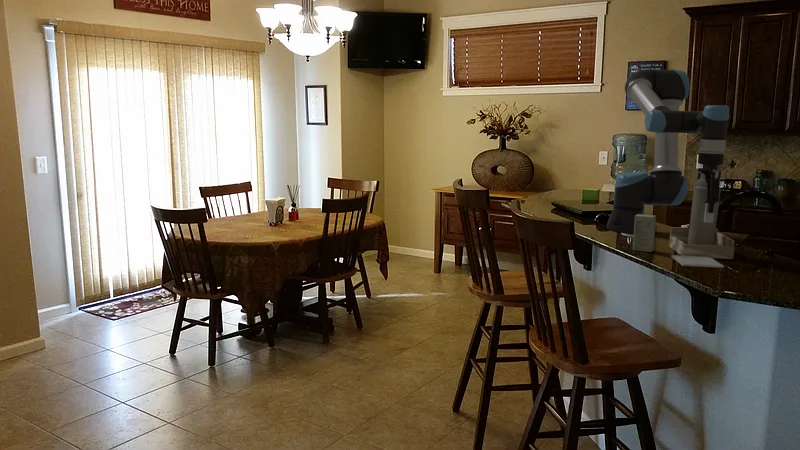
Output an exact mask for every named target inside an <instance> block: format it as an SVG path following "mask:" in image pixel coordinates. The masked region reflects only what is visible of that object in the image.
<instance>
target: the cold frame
mask: <svg viewBox="0 0 800 450" xmlns="http://www.w3.org/2000/svg"><path fill="white" fill-rule="evenodd" d="M689 230H690V227H683V226H681V227H679V226H677V227H676V226H670V233H669V242H668V248H669V247H670V248H671V249H672V250H673V251H674V252H676V253H678V254H679V255H683V256H703V257H711V258H712V259H726V260H733V259H734V255H735V249H736V248H735V240H734V239H733V238H731V237H728V236H726V235H725V234H722V233H720V232H719V229H718V228H716V231H715V239H714V246H711V245H690V244H688V237H689Z"/></svg>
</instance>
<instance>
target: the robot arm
mask: <svg viewBox="0 0 800 450" xmlns="http://www.w3.org/2000/svg"><path fill="white" fill-rule="evenodd" d="M690 88H691V87H690V79H689V76H688V74H687V73H686V71H684V70H681V69H673V68H672V69H650V68H647V69H646V68H645V69H641V70H638V71H635V72H634V73H633V74H631V75H630V76H629V77H628V79H627V80H626V82H625V85H624V92H625V95H626V97H627V98H628V100H629V101H631V102H634V103H635V104H636V106H637V107H638V108H639V109H640V111H641V113H643V114H644V116H645V117H644V127H645V130H646V131H647V132H649V133H654V167H653V169H651V170H650V171H649V174H648V172H647V171H626V172H621V173H619V174H617V176H616V178H615V182H614V194H613V206H612V207H613V208H612V211H611V214H610V216H609V217H608V221H607V223H606V229H607V230H609V231H612V232H617V233H626V234H634V221H635V215H637V214H642V215H645V205H647V206H650V205H652V206H668V207H669V206H678V205H680V204H681V203H683V201H684V200H685V198H686V196H687V194H688V188H689V181H688V179H687V177H686V176H685V175H683V171H682V169H680V168H679V134H698V135H699V134H700V140H699V142H698V146H699V151H700V152H699V153H698V155H697V158H698V159H697V163H698V164H699V165H702V167H699V168H698V169H697V179H696V181H697V180H699V179H700V177H701V171H705V174H704V175H705V181H706V183H707V189H708V191H707V201H705V203H706V205H705V213H704V222H706V223H713V218H714V210H715V203H716V202H719V203H720V198H719V188H720V187H721V186H720V185H721V184H720V183H721V176H722V172H721V171H718V166H722V165H723V164H724V158H725V154H724V153H725V151H726V145H727V134H728V133H727V132H728V126H729V125H728V124H729V120H730V107H729V106H728V105H721V104H720V105H718V104H717V105H716V104H714V105H712V104H711V105H710V104H709V105H705V106H704V108H703V110H694V111H693V110H680V107H681V106H682V105H683V104H684V100H686V99H687V98H688V96H689V95H690ZM706 172H708V174H707V173H706ZM708 179H709V180H708ZM695 186H697V184H696V185H695Z"/></svg>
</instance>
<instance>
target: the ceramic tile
mask: <svg viewBox="0 0 800 450" xmlns="http://www.w3.org/2000/svg"><path fill="white" fill-rule="evenodd" d="M670 257H671V258H672V259H673V260H675V261H676V262H677V263H679V264H680V265H681V266H683V267H700V268H701V267H702V268H703V267H704V268H716V269H717V268H719V269H720V268H722V269H724V268H725V266H724V265H723V264H722V263H720V262H718V261H717V260H715V258H711V257H703V256H683V255H680V254H679V255H678V254H671V255H670Z"/></svg>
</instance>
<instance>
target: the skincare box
mask: <svg viewBox="0 0 800 450" xmlns="http://www.w3.org/2000/svg"><path fill="white" fill-rule="evenodd" d="M656 223H657V215H651V214H644V215H642V214H637V215H635V221H634V233H633V238H632V250H633V251H639V252H647V253H652V252H653V251H654V250H655V249H654V248H655V235H656Z"/></svg>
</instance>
